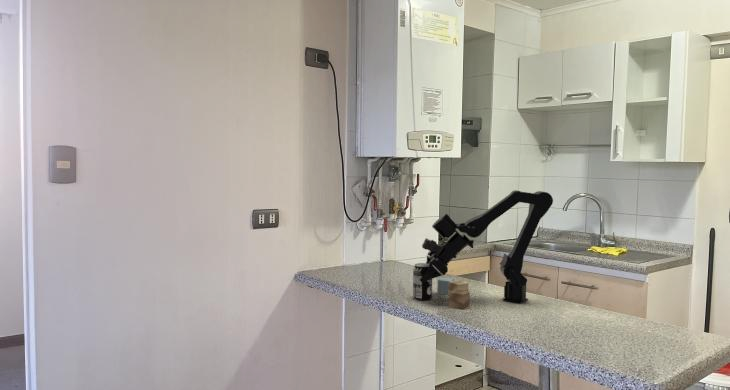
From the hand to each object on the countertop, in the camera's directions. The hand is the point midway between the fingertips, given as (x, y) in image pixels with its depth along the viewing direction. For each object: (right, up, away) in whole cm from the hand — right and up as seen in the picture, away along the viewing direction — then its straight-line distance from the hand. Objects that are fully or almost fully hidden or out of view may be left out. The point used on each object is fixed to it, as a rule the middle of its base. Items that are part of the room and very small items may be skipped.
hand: (419, 278), depth 183 cm
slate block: (+10, -7, +9) cm, 16 cm away
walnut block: (+12, -8, -10) cm, 17 cm away
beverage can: (+1, -7, 0) cm, 7 cm away
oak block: (+14, -7, +5) cm, 16 cm away
